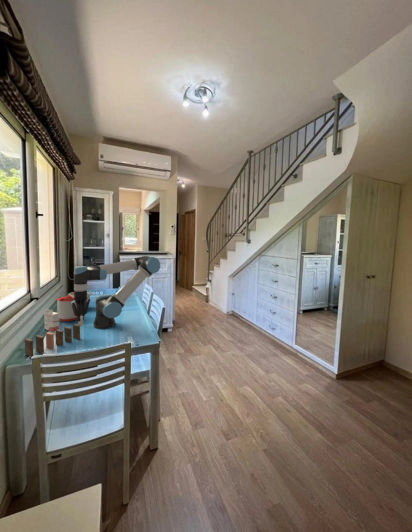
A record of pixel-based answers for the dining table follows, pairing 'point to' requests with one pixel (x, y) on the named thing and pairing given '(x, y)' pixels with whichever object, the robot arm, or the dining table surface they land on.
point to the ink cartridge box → (51, 320)
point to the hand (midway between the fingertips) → (80, 325)
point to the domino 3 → (49, 340)
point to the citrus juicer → (65, 308)
